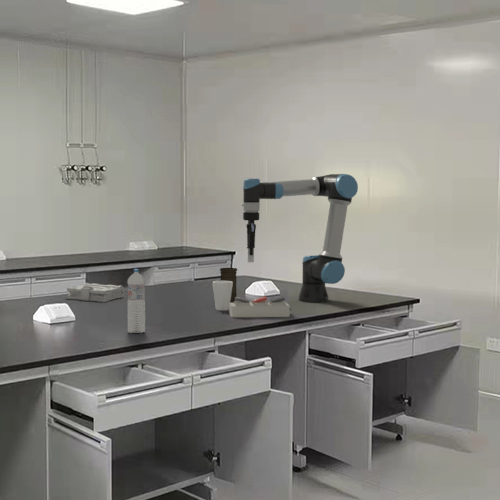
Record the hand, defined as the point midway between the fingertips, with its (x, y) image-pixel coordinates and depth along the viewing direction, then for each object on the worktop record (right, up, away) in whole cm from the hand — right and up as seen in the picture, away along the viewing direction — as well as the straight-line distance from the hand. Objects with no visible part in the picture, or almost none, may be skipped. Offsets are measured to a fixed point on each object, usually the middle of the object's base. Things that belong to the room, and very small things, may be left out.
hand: (250, 262), depth 356 cm
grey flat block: (-81, -19, +33) cm, 90 cm away
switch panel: (+4, -24, -14) cm, 28 cm away
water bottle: (-45, -27, -56) cm, 77 cm away
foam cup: (-13, -22, +1) cm, 26 cm away
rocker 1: (-4, -17, -17) cm, 24 cm away
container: (-11, -21, +14) cm, 28 cm away
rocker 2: (+4, -17, -16) cm, 24 cm away
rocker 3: (+12, -17, -15) cm, 26 cm away
